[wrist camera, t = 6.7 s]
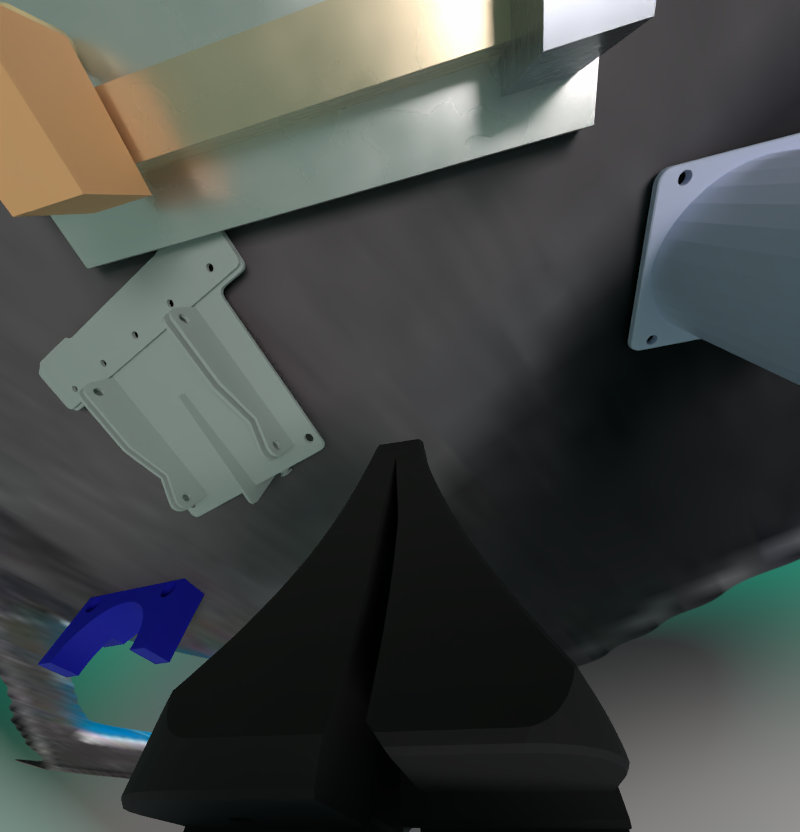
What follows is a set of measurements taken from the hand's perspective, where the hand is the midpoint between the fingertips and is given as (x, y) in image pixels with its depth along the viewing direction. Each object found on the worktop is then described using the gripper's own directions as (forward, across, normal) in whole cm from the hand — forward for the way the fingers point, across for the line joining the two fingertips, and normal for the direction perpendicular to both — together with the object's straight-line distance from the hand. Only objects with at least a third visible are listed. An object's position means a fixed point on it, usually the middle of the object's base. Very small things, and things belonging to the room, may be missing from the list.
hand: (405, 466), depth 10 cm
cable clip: (+10, +31, +22) cm, 39 cm away
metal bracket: (+10, +12, 0) cm, 16 cm away
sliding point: (+8, +9, -11) cm, 16 cm away
